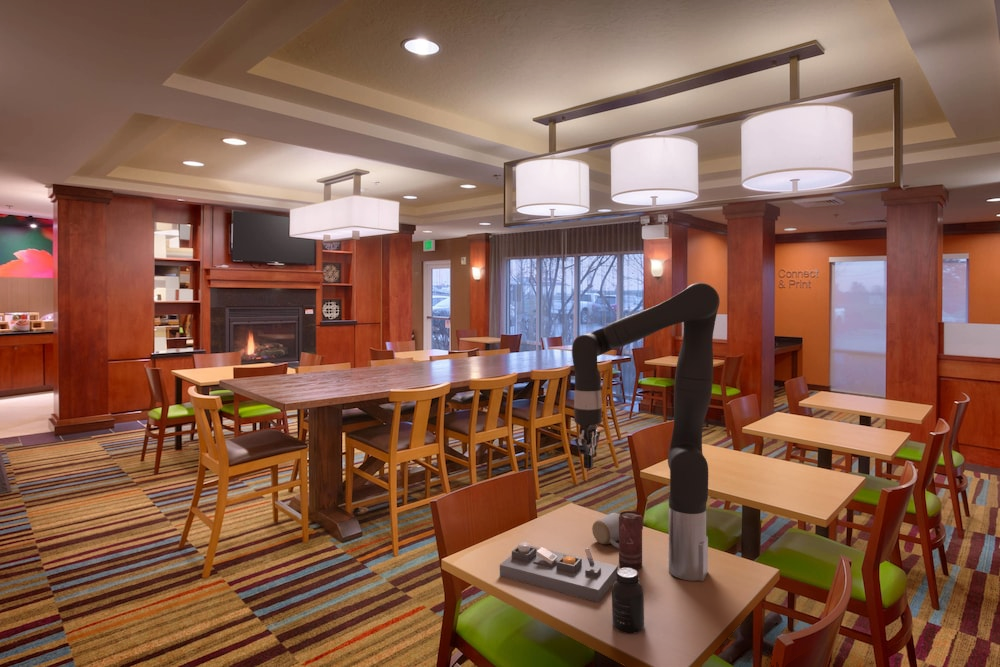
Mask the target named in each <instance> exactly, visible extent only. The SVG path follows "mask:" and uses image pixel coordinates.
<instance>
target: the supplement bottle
mask: <svg viewBox="0 0 1000 667" xmlns="http://www.w3.org/2000/svg"><path fill="white" fill-rule="evenodd" d="M639 576H640V575H639V571H638V570H635V569H632V568H628V567H623V568H622V567H620V568H618V570H617V571H616V580H615V582H614V583H613V584H612V586H611V610H612V612H611V615H612V618H611V619H612V624H613V627H614V628H615V629H616V630H617V631H619V632H620V633H625V634H638V633H640V632H641V631H642V630H643V629H644V627H645V593H644V588H643V585H642V584H641V583H640V577H639Z"/></svg>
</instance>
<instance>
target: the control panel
mask: <svg viewBox="0 0 1000 667" xmlns="http://www.w3.org/2000/svg"><path fill="white" fill-rule="evenodd" d="M540 548H541V547H538V546H532V545H530V552H529V553H528V554H525V553H521V552H518V546H517V547H515V548H514V549H513V550H512V551H511V555H510V556H508V557H507V559H505V560H504V561H503V562H501V563H500V564H499V576H500V577H502V576H503V577H502V578H506V579H509V578H510V580H513V579H514V581H517V582H521V583H525V584H528V585H532V586H536V587H538V588H539V587H540V588H543V589H547V590H551V591H555V592H558V593H563V594H567V595H569V596H570V595H571V596H574V597H577V598H581V599H585V600H589V601H593V602H596V603H599V602H601V600H602V598H603V597H604V596H605V595H606V593H607V592H608V591H609V590H610V588H612V585H613V583H614V582H615V581H616V571H617V570H618V569H619V568H618V567H619V566H618V565H616V564H611V563H608V562H602V561H598V560H594V559H593V561H594V564H595V565H594V567H591V566H590V564H589V561H588V558H587V557H586V558H585V557H581V556H576V555H572V554H568V553H562V552H558V551H554V550H550V549H547V550H548V551H550V552H552V553H553V554H555V555H556V556H558V557H557V560H556V561H555V562H554V563H552V564H550V563H548V562H547V561H545V560H543V559H542V558H540V557H539V556H537V555H536V552H537V551H538V550H539V549H540ZM565 556H572V557H574V558H575V564H574V565H571V564H567V563H563V557H565Z"/></svg>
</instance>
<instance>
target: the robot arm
mask: <svg viewBox="0 0 1000 667" xmlns="http://www.w3.org/2000/svg"><path fill="white" fill-rule="evenodd" d="M720 303H721V302H720V294H719V293H718V291H717V290H716V289H715V288H714V287H713V286H712V285H710V284H708V283H705V282H704V283H703V282H696V283H692V284H690V285H688V286H687V287H686V288H685V289H684V290H682V291H680V292H678V293H677V294H676V295H674V296H672V297H670V298H668V299H667V300H665V301H663V302H661V303H659V304H657V305H654V306H651V307H649V308H647V309H644V310H641V311H639V312H635V313H633V314H630V315H627V316H625V317H623V318H619V319H618V320H615V321H612V322H611V323H609V324H607V325H605V326H603V327H602V328H599V329H596V330H593V331H591V332H588V333H585V334H584V333H583V334H581V335H577V337H576V338H575V339H574V340H573V341H572V346H571V356H572V363H573V370H574V395H573V397H574V398H573V400H574V401H573V402H574V403H573V404H574V405H573V409H574V410H573V414H574V416H573V419H574V420H573V421H574V423H575V424H578V425H579V431H578V435H579V437H576V438H575V444H576V447H577V449H578V453H579V454H581V455H583V468H584V469H587V470H591V469H592V468H593V467H594V454H595V451H597V447H598V444H599V439H600V436H601V431H600V430H598V429H597V428H598V427H597V425H601V423H602V421H603V419H602V417H603V412H602V411H603V409H602V408H603V407H602V405H603V403H602V397H603V396H602V390H601V388H602V385H601V383H602V382H601V372H600V370H599V369H598V357H599V356H601V355H603V354H606V353H607V352H608V353H609V352H610V351H612V350H614V349H619V348H622V347H624V346H625V347H626V346H628V345H630V344H633V343H635V342H638V341H640V340H643V339H644V338H646V337H649V336H651V335H653V334H654V333H657V332H659V331H662V330H664V329H665V328H669V327H672V326H675V325H678V324H681V323H683V335H682V342H681V346H680V349H679V353H678V357H677V361H676V366H675V373H674V374H675V375H674V387H673V427H672V434H671V435H672V436H671V439H670V444H669V445H670V446H669V449H668V454H667V465H668V468H669V477H670V478H669V496H668V572H669V573H670V574H671V575H672V576H673V577H674V578H677V579H680V580H684V581H693V582H694V581H701V582H704V581H705V579H706V577H707V574H708V570H709V560H708V559H709V555H708V554H709V537H708V535H707V502H708V499H709V498H708V496H709V464H708V462H707V458H705V456H704V453H703V428H704V422H705V419H706V416H707V413H708V410H709V407H710V404H711V403H710V402H711V399H712V395H713V394H712V391H713V383H714V382H713V380H714V351H713V350H714V349H713V348H714V346H713V337H714V330H715V324H716V319H717V314H718V311H719V308H720Z"/></svg>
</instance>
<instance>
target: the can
mask: <svg viewBox="0 0 1000 667" xmlns="http://www.w3.org/2000/svg"><path fill="white" fill-rule="evenodd" d="M643 529H644V518H643V516H642V515H641V514H640V513H639V512H637V511H633V510H632V511H631V510H626V511H622V512H620V513H619V540H618V544H619V548H618V564H619V565H620V568H623V567H628V568H632V569H635V570H637V571H638V570H640V569H641V568H642V567H643Z"/></svg>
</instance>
